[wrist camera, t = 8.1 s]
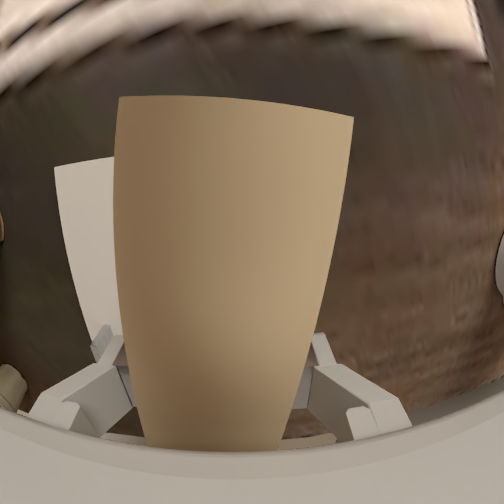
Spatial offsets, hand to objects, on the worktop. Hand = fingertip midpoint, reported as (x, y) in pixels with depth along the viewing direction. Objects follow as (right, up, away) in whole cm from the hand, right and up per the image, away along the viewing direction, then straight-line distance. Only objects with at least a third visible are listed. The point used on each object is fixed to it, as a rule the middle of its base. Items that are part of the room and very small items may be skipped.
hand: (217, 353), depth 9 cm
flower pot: (-41, -19, +26) cm, 52 cm away
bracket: (-12, +1, +20) cm, 23 cm away
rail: (0, +1, +2) cm, 2 cm away
